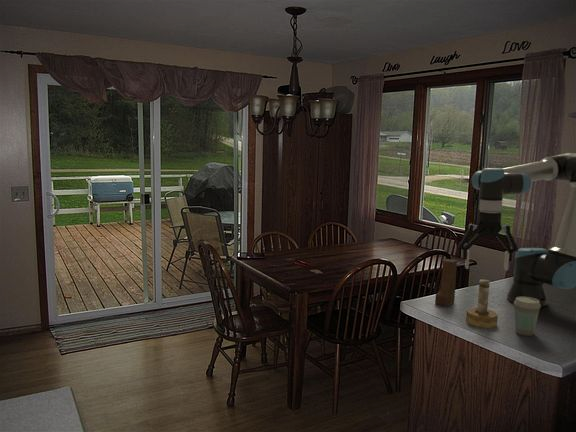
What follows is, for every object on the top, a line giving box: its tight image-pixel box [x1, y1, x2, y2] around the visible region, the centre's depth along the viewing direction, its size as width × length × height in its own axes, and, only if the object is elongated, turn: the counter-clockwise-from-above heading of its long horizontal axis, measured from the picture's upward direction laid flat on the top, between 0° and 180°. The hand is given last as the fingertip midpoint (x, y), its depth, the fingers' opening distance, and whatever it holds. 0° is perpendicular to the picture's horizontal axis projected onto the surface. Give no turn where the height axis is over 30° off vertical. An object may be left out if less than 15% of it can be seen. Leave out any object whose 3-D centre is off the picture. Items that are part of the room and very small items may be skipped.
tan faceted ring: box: [465, 306, 499, 329], centre depth 178 cm, size 10×10×4 cm
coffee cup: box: [513, 297, 542, 337], centre depth 169 cm, size 8×9×12 cm
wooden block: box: [434, 258, 458, 308], centre depth 198 cm, size 9×4×18 cm, turn 137°
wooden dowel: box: [476, 279, 490, 315], centre depth 177 cm, size 4×4×16 cm
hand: (486, 269), depth 175 cm, fingers open, 13 cm apart
